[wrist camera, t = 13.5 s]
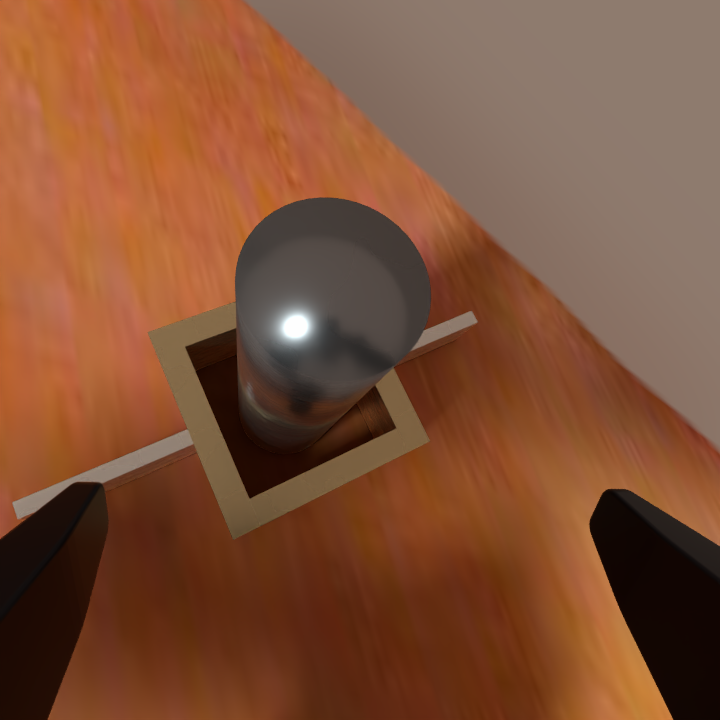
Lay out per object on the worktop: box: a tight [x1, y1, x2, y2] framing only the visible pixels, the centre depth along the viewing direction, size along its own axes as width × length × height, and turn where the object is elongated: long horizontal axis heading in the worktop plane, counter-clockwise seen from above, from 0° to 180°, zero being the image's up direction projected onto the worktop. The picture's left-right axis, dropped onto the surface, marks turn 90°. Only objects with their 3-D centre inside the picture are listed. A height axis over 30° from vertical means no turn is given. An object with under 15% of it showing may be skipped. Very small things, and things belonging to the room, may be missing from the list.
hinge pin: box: [235, 198, 431, 454], centre depth 16 cm, size 4×4×13 cm
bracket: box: [12, 302, 478, 540], centre depth 21 cm, size 19×8×4 cm, turn 116°
